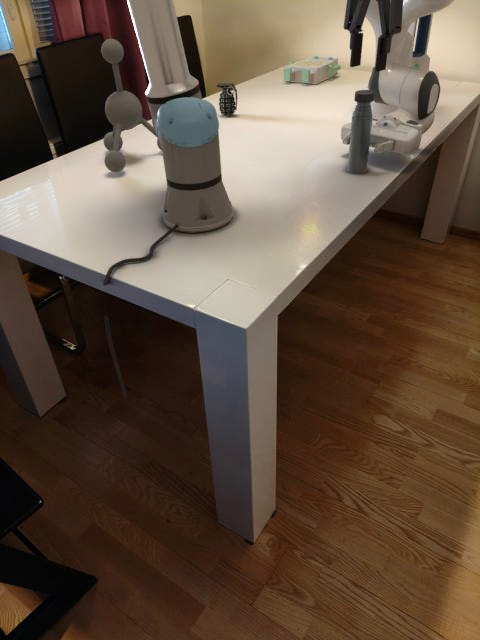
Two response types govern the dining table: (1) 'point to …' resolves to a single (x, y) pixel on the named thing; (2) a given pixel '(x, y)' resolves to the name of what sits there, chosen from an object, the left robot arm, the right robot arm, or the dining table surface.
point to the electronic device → (421, 42)
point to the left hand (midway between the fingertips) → (367, 67)
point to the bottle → (360, 138)
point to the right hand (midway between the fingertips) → (360, 144)
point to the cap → (364, 96)
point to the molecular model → (120, 110)
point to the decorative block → (311, 70)
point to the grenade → (227, 99)
